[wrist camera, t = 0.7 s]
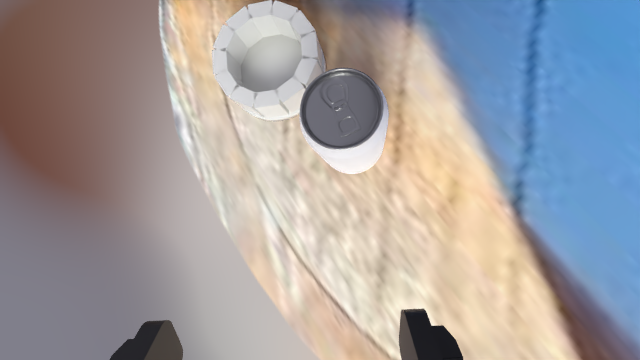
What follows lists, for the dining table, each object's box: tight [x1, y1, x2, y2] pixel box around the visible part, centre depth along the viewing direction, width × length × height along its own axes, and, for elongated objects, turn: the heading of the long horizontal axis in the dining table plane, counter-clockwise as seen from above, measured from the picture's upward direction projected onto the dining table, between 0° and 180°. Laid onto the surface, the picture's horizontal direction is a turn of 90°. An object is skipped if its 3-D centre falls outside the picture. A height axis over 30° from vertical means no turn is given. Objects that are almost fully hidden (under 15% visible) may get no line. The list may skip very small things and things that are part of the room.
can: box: [300, 68, 389, 174], centre depth 26 cm, size 6×6×12 cm
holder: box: [212, 0, 326, 121], centre depth 32 cm, size 11×11×4 cm
